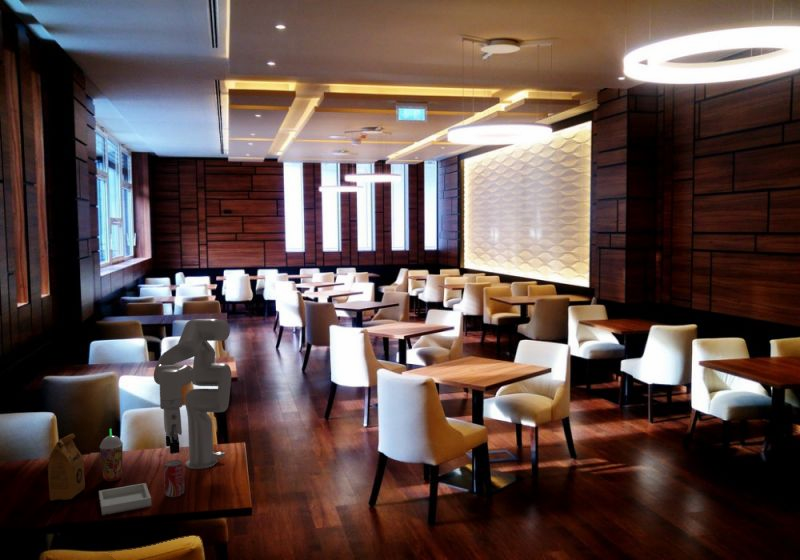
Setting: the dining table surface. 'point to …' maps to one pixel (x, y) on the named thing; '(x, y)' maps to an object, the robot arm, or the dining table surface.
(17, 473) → the dining table surface
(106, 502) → the tray
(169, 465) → the soda can
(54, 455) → the coffee package
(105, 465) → the smoothie
